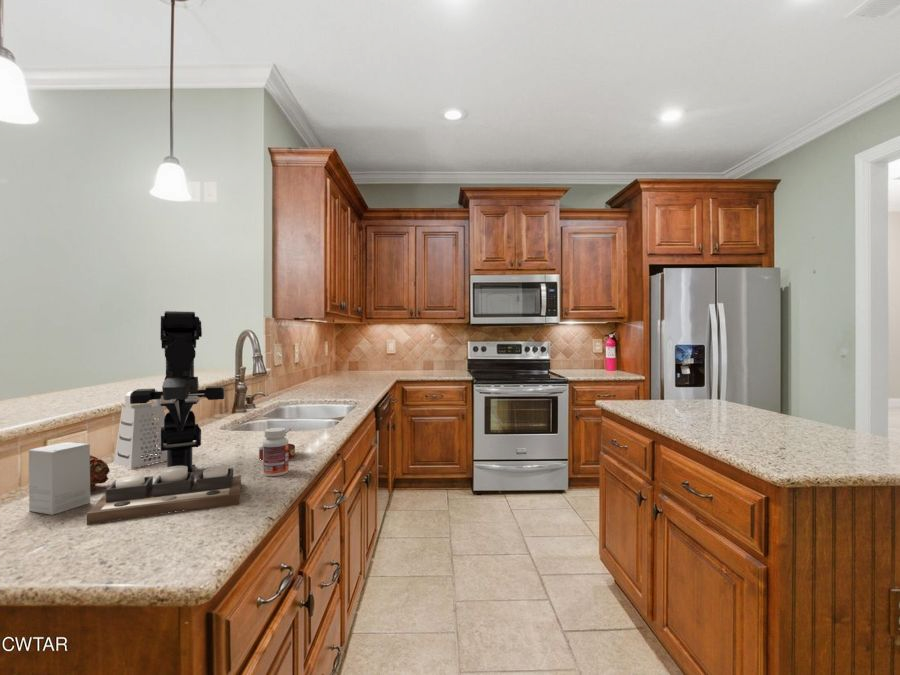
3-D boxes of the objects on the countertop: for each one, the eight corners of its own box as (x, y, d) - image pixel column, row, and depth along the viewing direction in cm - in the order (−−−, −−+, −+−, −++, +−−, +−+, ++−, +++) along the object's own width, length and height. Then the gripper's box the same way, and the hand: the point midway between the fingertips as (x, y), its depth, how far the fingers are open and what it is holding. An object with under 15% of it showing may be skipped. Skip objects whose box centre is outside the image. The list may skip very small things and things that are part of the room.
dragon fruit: (112, 495, 106) (51, 508, 103) (121, 466, 112) (64, 477, 109) (97, 472, 101) (32, 485, 98) (107, 443, 107) (46, 454, 104)
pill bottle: (291, 474, 117) (291, 430, 117) (265, 478, 113) (265, 432, 113) (285, 468, 122) (285, 426, 122) (260, 472, 118) (260, 428, 118)
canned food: (279, 478, 129) (266, 451, 124) (257, 468, 134) (244, 442, 130) (308, 452, 137) (298, 425, 133) (286, 444, 142) (275, 418, 138)
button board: (108, 499, 99) (108, 479, 99) (240, 484, 109) (240, 465, 109) (86, 524, 86) (86, 500, 86) (238, 503, 96) (238, 482, 96)
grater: (172, 460, 131) (172, 390, 131) (131, 469, 122) (130, 394, 122) (154, 455, 136) (153, 388, 136) (113, 463, 127) (113, 391, 127)
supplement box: (91, 503, 97) (91, 443, 97) (51, 516, 90) (51, 451, 90) (68, 499, 99) (68, 441, 99) (27, 511, 92) (27, 449, 92)
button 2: (204, 478, 104) (204, 468, 104) (228, 476, 106) (228, 465, 106) (201, 485, 99) (201, 474, 99) (227, 482, 101) (227, 471, 101)
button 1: (119, 488, 97) (119, 477, 97) (147, 485, 99) (146, 474, 99) (112, 495, 93) (112, 484, 93) (141, 492, 95) (141, 481, 95)
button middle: (163, 478, 100) (163, 467, 100) (189, 475, 102) (189, 464, 102) (158, 484, 96) (158, 473, 96) (185, 481, 98) (185, 470, 98)
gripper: (123, 368, 96) (123, 442, 96) (222, 365, 104) (222, 434, 104) (136, 365, 107) (136, 432, 107) (225, 363, 114) (225, 425, 114)
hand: (180, 431), depth 107 cm, fingers closed
